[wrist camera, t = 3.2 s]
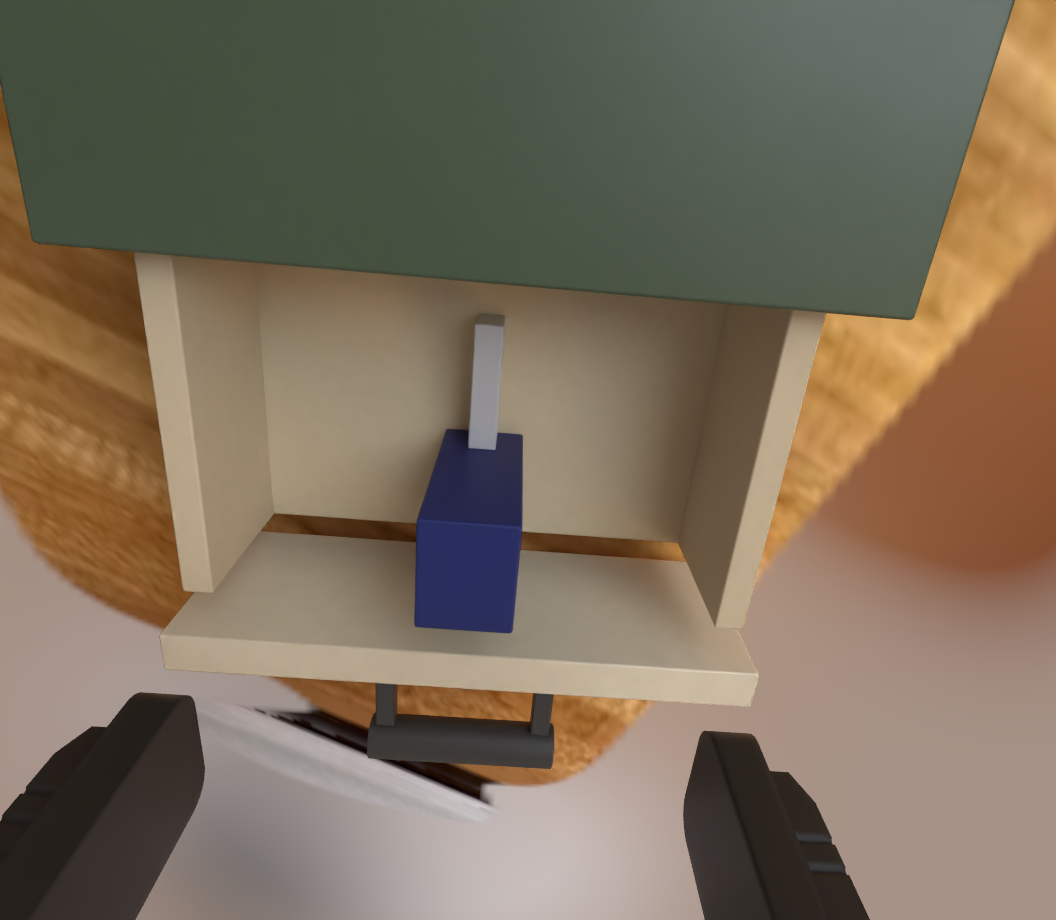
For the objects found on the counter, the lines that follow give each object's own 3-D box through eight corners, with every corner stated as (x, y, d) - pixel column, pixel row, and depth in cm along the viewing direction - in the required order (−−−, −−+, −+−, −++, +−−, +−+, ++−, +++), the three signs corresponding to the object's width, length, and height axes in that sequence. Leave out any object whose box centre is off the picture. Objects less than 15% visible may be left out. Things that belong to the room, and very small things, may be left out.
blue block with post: (443, 512, 21) (413, 628, 16) (450, 310, 18) (419, 362, 13) (515, 518, 21) (512, 635, 16) (533, 317, 19) (537, 372, 13)
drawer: (676, 690, 25) (717, 823, 20) (258, 663, 25) (185, 793, 19) (788, 194, 18) (897, 196, 13) (207, 139, 18) (70, 118, 12)
